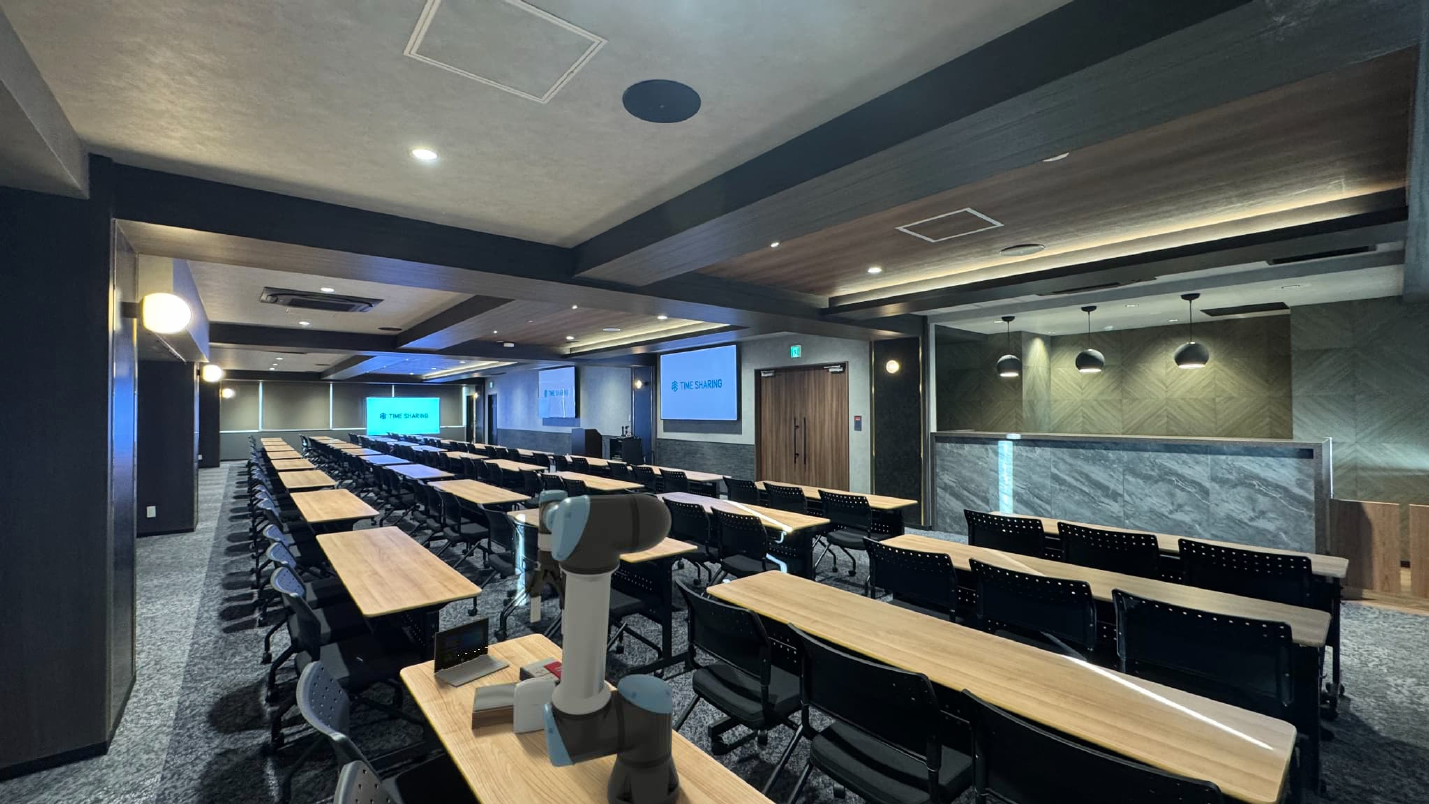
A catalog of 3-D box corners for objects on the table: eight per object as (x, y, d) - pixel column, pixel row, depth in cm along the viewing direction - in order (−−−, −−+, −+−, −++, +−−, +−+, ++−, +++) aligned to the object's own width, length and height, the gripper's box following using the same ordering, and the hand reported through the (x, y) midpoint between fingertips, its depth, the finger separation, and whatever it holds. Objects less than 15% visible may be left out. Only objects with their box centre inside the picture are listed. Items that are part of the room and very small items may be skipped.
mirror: (529, 720, 146) (530, 703, 146) (471, 729, 142) (472, 712, 142) (528, 694, 159) (529, 679, 160) (475, 702, 155) (475, 686, 155)
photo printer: (512, 735, 139) (514, 685, 139) (513, 726, 143) (514, 677, 143) (555, 729, 142) (557, 679, 143) (554, 720, 146) (556, 672, 147)
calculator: (544, 684, 159) (519, 664, 169) (543, 700, 159) (518, 679, 169) (578, 672, 167) (552, 654, 177) (577, 687, 167) (551, 668, 177)
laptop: (455, 688, 163) (456, 643, 163) (433, 676, 170) (434, 632, 171) (510, 666, 177) (511, 625, 178) (487, 656, 185) (488, 616, 185)
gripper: (593, 552, 148) (591, 633, 147) (536, 539, 163) (534, 612, 162) (570, 557, 142) (568, 642, 141) (513, 543, 157) (511, 620, 156)
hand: (550, 626), depth 152 cm, fingers open, 13 cm apart
